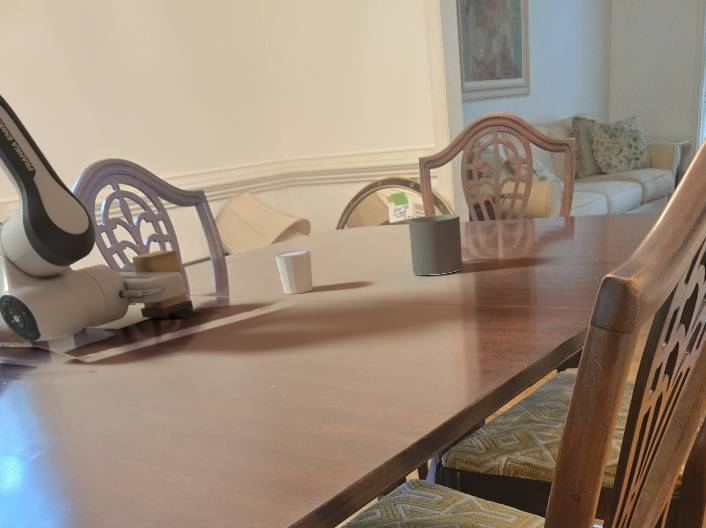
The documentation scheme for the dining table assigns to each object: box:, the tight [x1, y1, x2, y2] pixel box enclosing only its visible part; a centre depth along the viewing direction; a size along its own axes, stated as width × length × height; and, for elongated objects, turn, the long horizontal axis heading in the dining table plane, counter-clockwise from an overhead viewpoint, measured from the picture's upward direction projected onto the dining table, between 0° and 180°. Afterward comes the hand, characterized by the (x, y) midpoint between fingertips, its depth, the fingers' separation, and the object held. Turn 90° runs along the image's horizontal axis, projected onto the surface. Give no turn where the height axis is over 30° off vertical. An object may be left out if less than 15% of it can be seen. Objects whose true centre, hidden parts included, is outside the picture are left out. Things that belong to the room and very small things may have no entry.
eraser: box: [132, 250, 194, 319], centre depth 134 cm, size 6×7×10 cm
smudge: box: [170, 308, 203, 321], centre depth 134 cm, size 4×4×1 cm
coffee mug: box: [408, 213, 463, 275], centre depth 154 cm, size 13×10×10 cm
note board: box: [86, 304, 153, 330], centre depth 142 cm, size 22×16×1 cm
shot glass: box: [274, 250, 314, 295], centre depth 149 cm, size 7×7×7 cm
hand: (163, 276), depth 134 cm, fingers closed on eraser, 4 cm apart
